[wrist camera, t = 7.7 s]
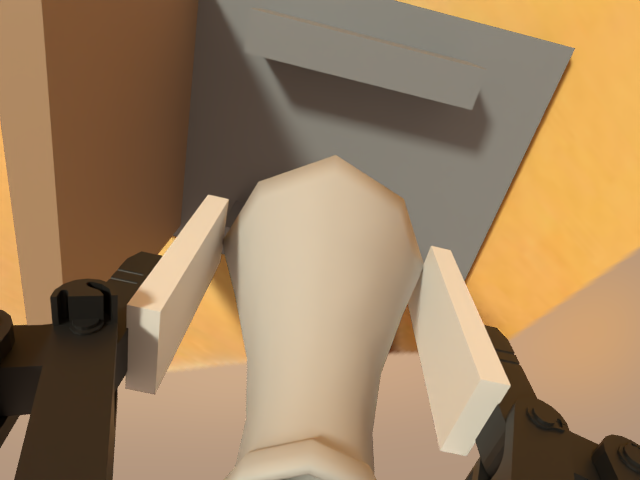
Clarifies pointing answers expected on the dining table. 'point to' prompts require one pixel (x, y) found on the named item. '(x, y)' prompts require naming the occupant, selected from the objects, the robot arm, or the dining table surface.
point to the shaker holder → (250, 118)
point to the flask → (317, 317)
